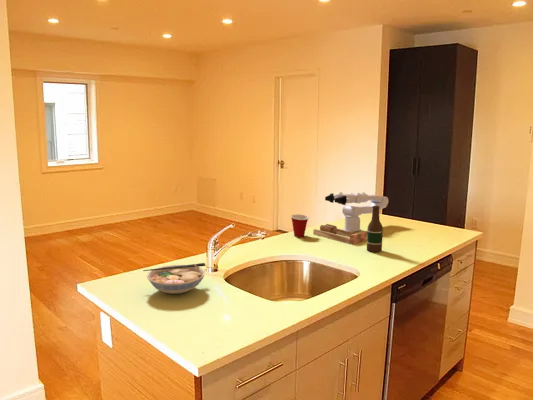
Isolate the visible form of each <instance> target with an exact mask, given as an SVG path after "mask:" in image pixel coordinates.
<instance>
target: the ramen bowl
mask: <svg viewBox="0 0 533 400" xmlns="http://www.w3.org/2000/svg"><path fill="white" fill-rule="evenodd" d="M206 266H207V265H206V262H200V263H193V264H191V263H190V264H172V265H164V266H161V267H160V266H159V267H157V268H153V269H152V268H151V269H143V270H142V271H143V272H148V271H149V272H148V273H147V274H146V278H147V280H148V281H149V282H150V284H151V285H152V286H153V287H154V289H155V290H157V291H160V292H162V293H166V294H170V295H181V294H184V293H186V292H189V291H192V290H194V289H195V288H196V287H197V286H199V285H200V284H201V282H202V280H203V279H204V278H205V275H206V271H205V270H204V268H202V267H206Z"/></svg>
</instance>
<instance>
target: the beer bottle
mask: <svg viewBox="0 0 533 400" xmlns="http://www.w3.org/2000/svg"><path fill="white" fill-rule="evenodd" d="M372 208H373V212H372V213H371V221H370V222H369V223H368V225H367V229H366V232H367V241H366V251H367V252H369V253H372V252H373V253H374V254H377V253H378V252H379V253H381V252H382V249H383V230H384V228H383V224H382V223H381V221H380V211H379V208H380V207H379V206H376V205H375V206H373V207H372ZM379 253H378V254H379Z"/></svg>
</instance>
